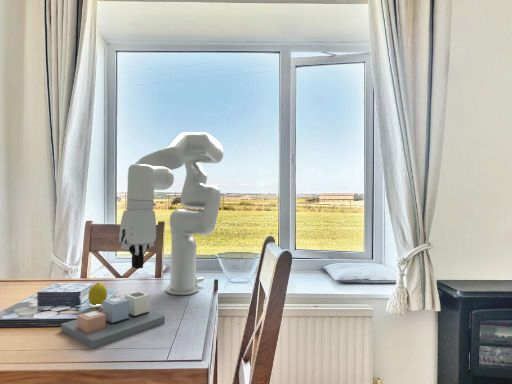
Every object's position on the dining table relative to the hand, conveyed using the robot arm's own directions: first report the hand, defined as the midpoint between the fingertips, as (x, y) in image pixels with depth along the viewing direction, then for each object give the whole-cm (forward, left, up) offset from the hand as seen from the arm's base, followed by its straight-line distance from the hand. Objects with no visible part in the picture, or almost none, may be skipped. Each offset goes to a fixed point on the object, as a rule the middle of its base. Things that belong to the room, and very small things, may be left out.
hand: (137, 267), depth 104 cm
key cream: (0, 0, -13) cm, 13 cm away
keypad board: (+7, 0, -16) cm, 17 cm away
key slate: (+7, 0, -13) cm, 15 cm away
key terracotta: (+14, 0, -16) cm, 21 cm away
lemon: (+2, -18, -16) cm, 24 cm away
